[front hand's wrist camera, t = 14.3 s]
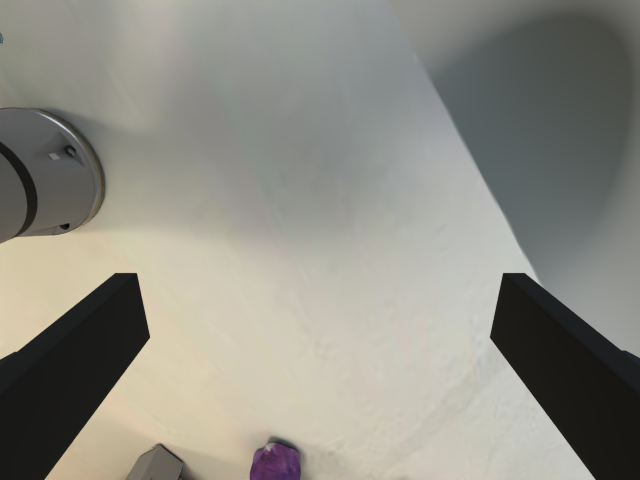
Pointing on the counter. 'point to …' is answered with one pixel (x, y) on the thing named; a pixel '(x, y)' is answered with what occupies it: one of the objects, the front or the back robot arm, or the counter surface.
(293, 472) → the figurine
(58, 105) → the counter surface
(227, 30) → the counter surface
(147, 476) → the record crate
